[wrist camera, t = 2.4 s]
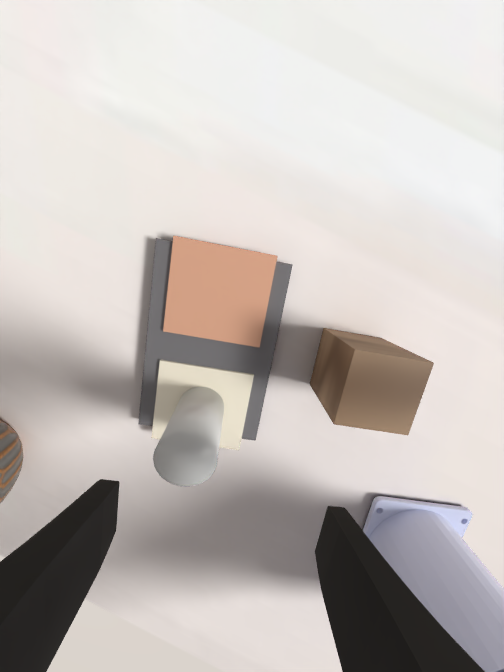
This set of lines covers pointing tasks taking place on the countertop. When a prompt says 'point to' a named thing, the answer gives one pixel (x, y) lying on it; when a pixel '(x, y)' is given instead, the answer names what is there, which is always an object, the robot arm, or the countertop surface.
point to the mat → (211, 331)
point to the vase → (9, 458)
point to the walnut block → (368, 381)
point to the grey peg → (191, 438)
